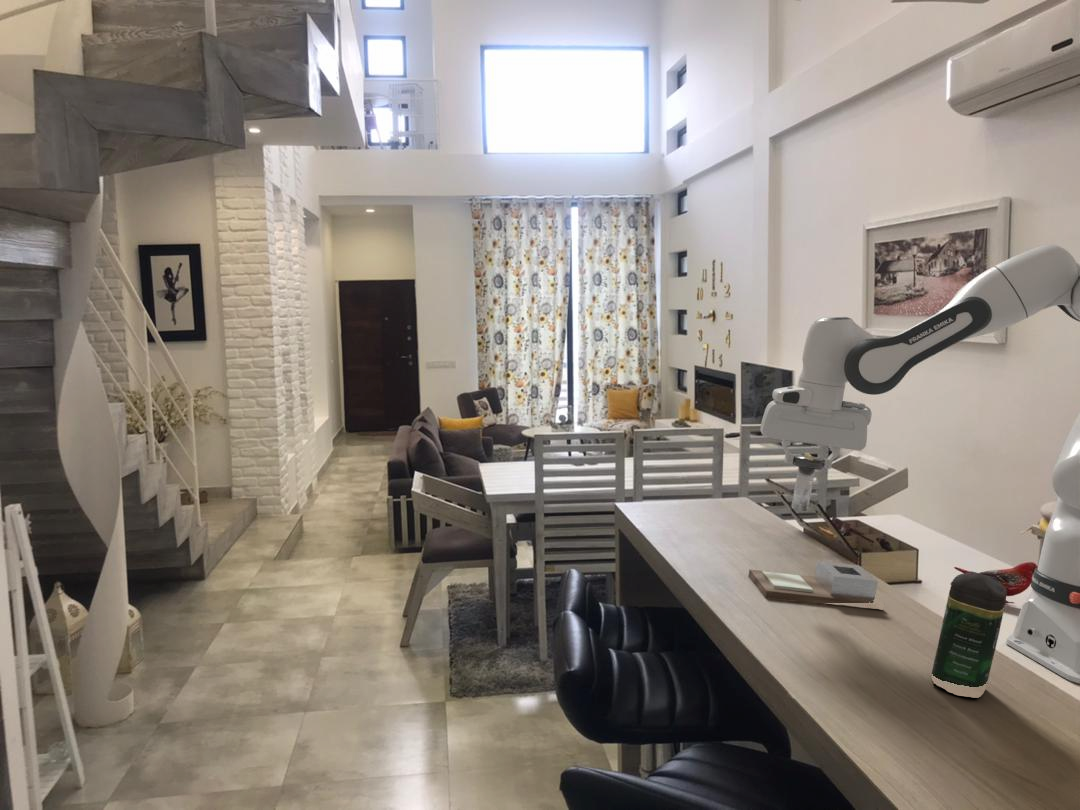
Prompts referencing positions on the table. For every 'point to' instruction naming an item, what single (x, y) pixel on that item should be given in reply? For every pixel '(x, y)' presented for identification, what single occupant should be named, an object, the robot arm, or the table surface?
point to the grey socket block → (845, 580)
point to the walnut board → (796, 588)
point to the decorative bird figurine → (1012, 577)
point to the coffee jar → (970, 630)
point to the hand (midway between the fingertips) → (807, 465)
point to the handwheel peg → (804, 479)
